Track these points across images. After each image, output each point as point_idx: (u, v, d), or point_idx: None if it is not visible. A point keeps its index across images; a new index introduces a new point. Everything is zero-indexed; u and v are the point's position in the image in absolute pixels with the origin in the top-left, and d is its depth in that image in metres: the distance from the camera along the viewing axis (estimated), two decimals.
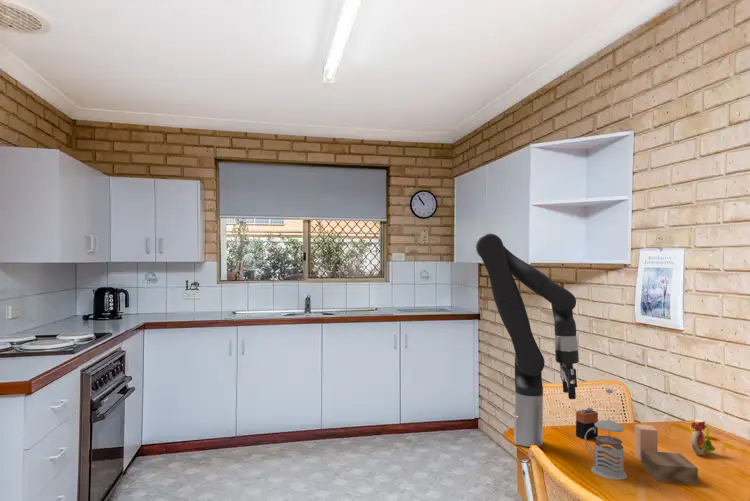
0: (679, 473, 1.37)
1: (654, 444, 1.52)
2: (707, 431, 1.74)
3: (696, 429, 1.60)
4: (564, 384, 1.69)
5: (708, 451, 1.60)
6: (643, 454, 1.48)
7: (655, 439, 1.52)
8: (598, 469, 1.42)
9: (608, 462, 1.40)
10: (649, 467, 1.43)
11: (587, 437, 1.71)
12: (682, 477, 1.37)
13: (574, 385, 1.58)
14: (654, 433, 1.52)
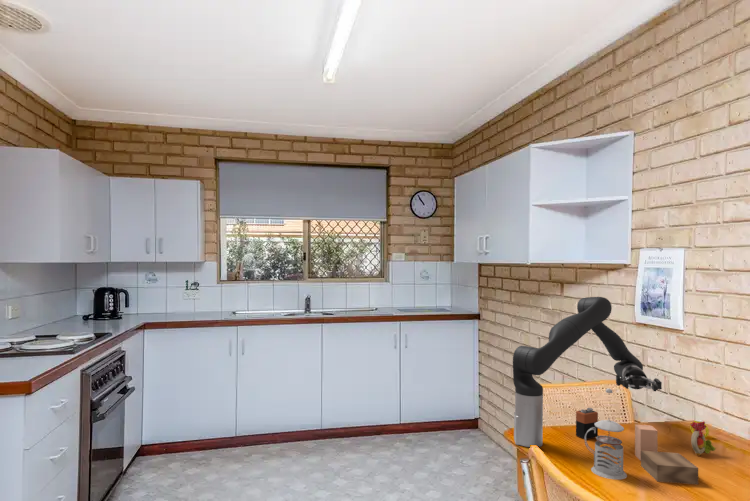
0: (680, 473, 1.37)
1: (654, 444, 1.52)
2: (707, 431, 1.74)
3: (696, 429, 1.60)
4: (627, 382, 1.70)
5: (708, 451, 1.60)
6: (643, 454, 1.47)
7: (655, 439, 1.52)
8: (598, 469, 1.42)
9: (608, 462, 1.40)
10: (650, 468, 1.42)
11: (587, 437, 1.71)
12: (683, 477, 1.37)
13: None
14: (654, 433, 1.52)
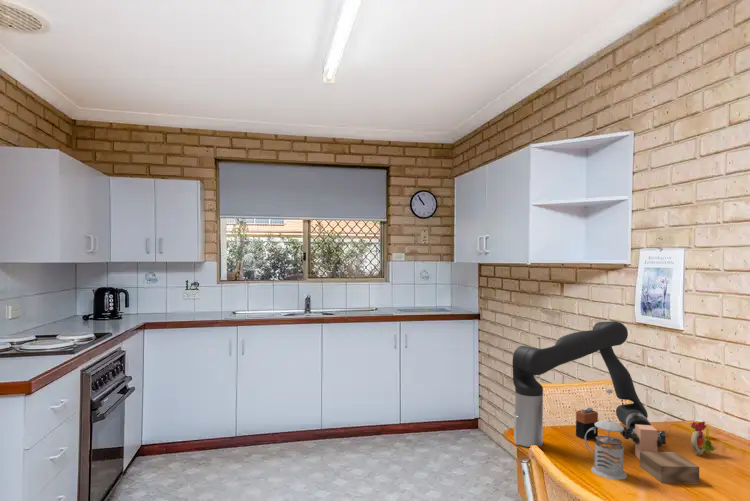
0: (682, 473, 1.37)
1: (654, 444, 1.52)
2: (707, 431, 1.74)
3: (696, 429, 1.60)
4: (636, 436, 1.56)
5: (708, 451, 1.60)
6: (642, 455, 1.47)
7: (655, 439, 1.52)
8: (598, 469, 1.42)
9: (608, 462, 1.40)
10: (652, 469, 1.42)
11: (587, 437, 1.71)
12: (685, 476, 1.37)
13: None
14: (654, 433, 1.52)
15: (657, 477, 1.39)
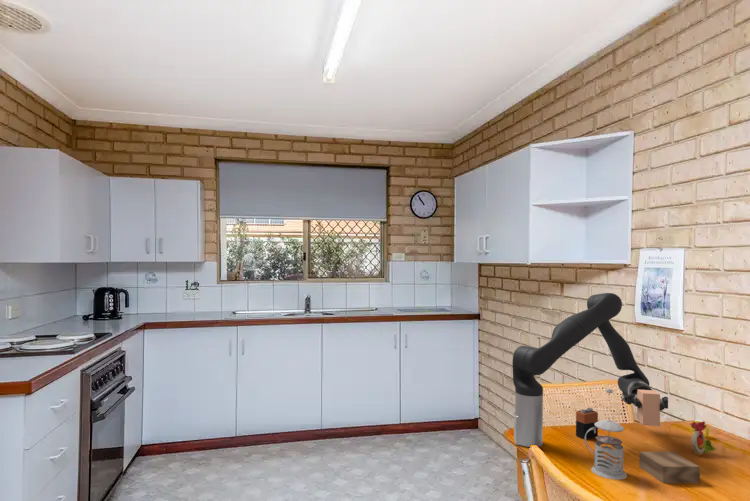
0: (683, 473, 1.37)
1: (657, 408, 1.51)
2: (707, 431, 1.74)
3: (696, 429, 1.60)
4: None
5: (708, 451, 1.60)
6: (642, 455, 1.46)
7: (658, 403, 1.51)
8: (598, 469, 1.42)
9: (608, 462, 1.40)
10: (652, 469, 1.41)
11: (587, 437, 1.71)
12: (686, 476, 1.37)
13: None
14: (657, 397, 1.51)
15: (658, 477, 1.39)
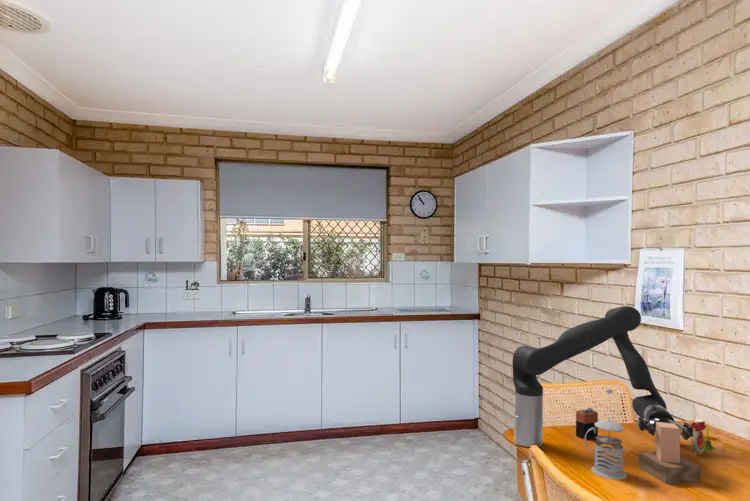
0: (684, 473, 1.37)
1: (676, 443, 1.40)
2: (707, 431, 1.74)
3: (696, 429, 1.60)
4: (652, 427, 1.45)
5: (708, 451, 1.60)
6: (642, 456, 1.46)
7: (677, 438, 1.40)
8: (598, 469, 1.42)
9: (608, 462, 1.40)
10: (654, 470, 1.41)
11: (587, 437, 1.71)
12: (687, 476, 1.37)
13: None
14: (676, 431, 1.40)
15: (660, 478, 1.38)
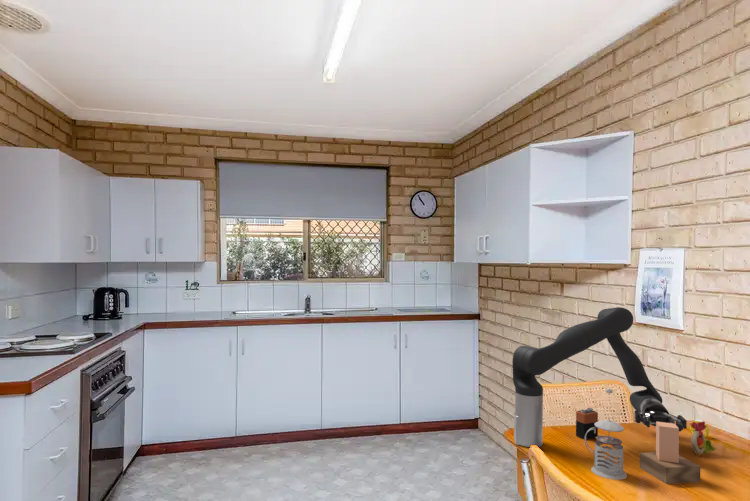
0: (685, 473, 1.37)
1: (675, 443, 1.40)
2: (707, 431, 1.74)
3: (696, 429, 1.60)
4: None
5: (708, 451, 1.60)
6: (643, 456, 1.46)
7: (676, 438, 1.40)
8: (598, 469, 1.42)
9: (608, 462, 1.40)
10: (654, 470, 1.41)
11: (587, 437, 1.71)
12: (687, 476, 1.37)
13: None
14: (675, 431, 1.40)
15: (661, 478, 1.38)
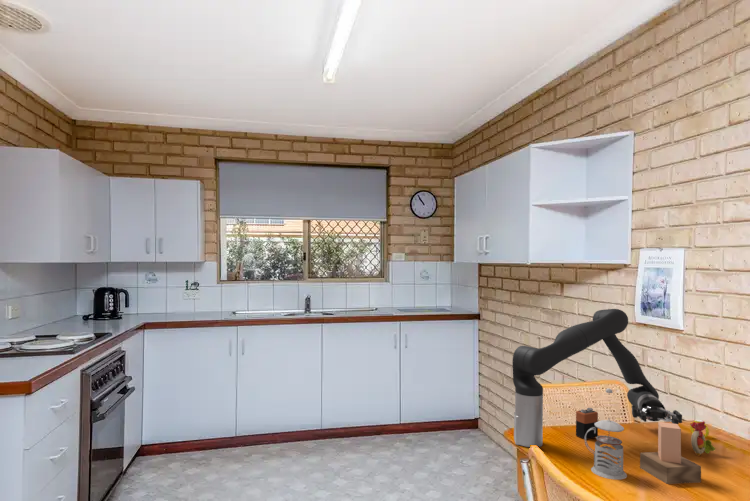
0: (686, 473, 1.37)
1: (677, 444, 1.40)
2: (707, 431, 1.74)
3: (696, 429, 1.60)
4: (644, 414, 1.58)
5: (708, 451, 1.60)
6: (643, 456, 1.46)
7: (678, 438, 1.40)
8: (598, 469, 1.42)
9: (608, 462, 1.40)
10: (655, 470, 1.41)
11: (587, 437, 1.71)
12: (688, 476, 1.37)
13: None
14: (677, 432, 1.40)
15: (662, 478, 1.38)
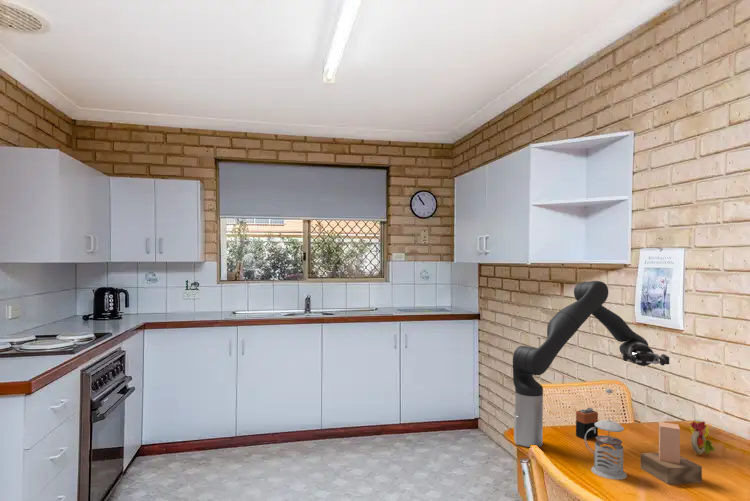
0: (686, 473, 1.37)
1: (676, 444, 1.40)
2: (707, 431, 1.74)
3: (696, 429, 1.60)
4: None
5: (708, 451, 1.60)
6: (644, 457, 1.45)
7: (677, 438, 1.40)
8: (598, 469, 1.42)
9: (608, 462, 1.40)
10: (656, 471, 1.40)
11: (587, 437, 1.71)
12: (689, 477, 1.37)
13: None
14: (676, 432, 1.40)
15: (663, 479, 1.38)
